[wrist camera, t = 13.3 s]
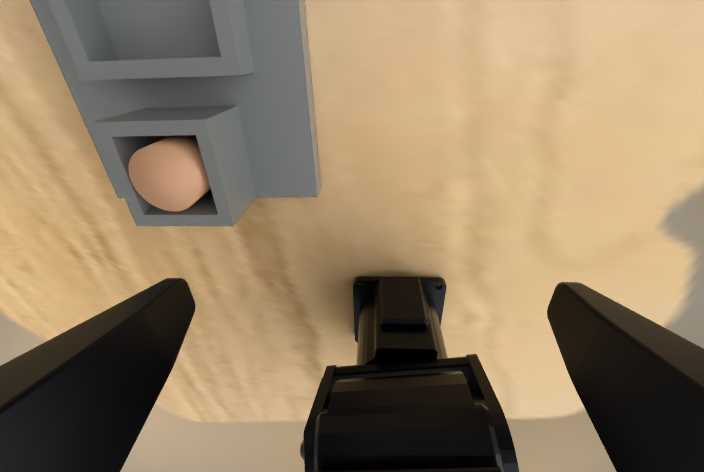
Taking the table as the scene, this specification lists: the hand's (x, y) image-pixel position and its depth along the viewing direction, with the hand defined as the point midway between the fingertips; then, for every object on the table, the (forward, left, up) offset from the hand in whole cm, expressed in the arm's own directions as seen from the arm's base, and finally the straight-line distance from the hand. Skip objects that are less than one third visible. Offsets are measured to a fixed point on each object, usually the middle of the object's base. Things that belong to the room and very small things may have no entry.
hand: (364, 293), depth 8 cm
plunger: (+1, +9, -10) cm, 13 cm away
